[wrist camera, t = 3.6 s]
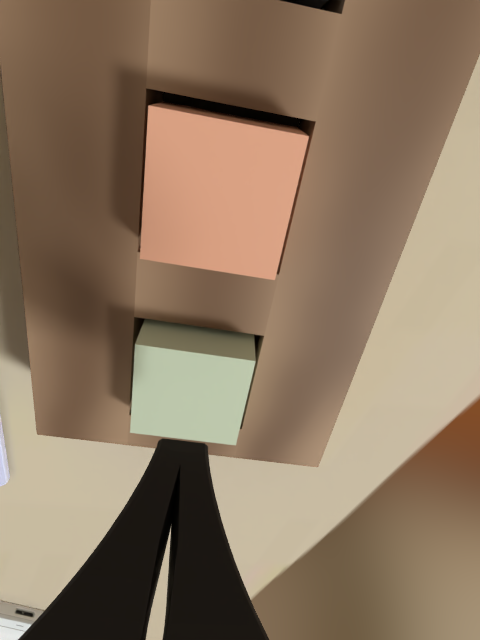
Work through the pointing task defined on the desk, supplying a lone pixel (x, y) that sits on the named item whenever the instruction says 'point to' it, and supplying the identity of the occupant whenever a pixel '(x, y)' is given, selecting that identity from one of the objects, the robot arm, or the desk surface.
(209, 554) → the robot arm
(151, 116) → the terracotta button
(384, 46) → the button panel
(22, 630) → the hard drive
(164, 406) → the sage button
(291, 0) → the slate button
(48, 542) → the desk surface
